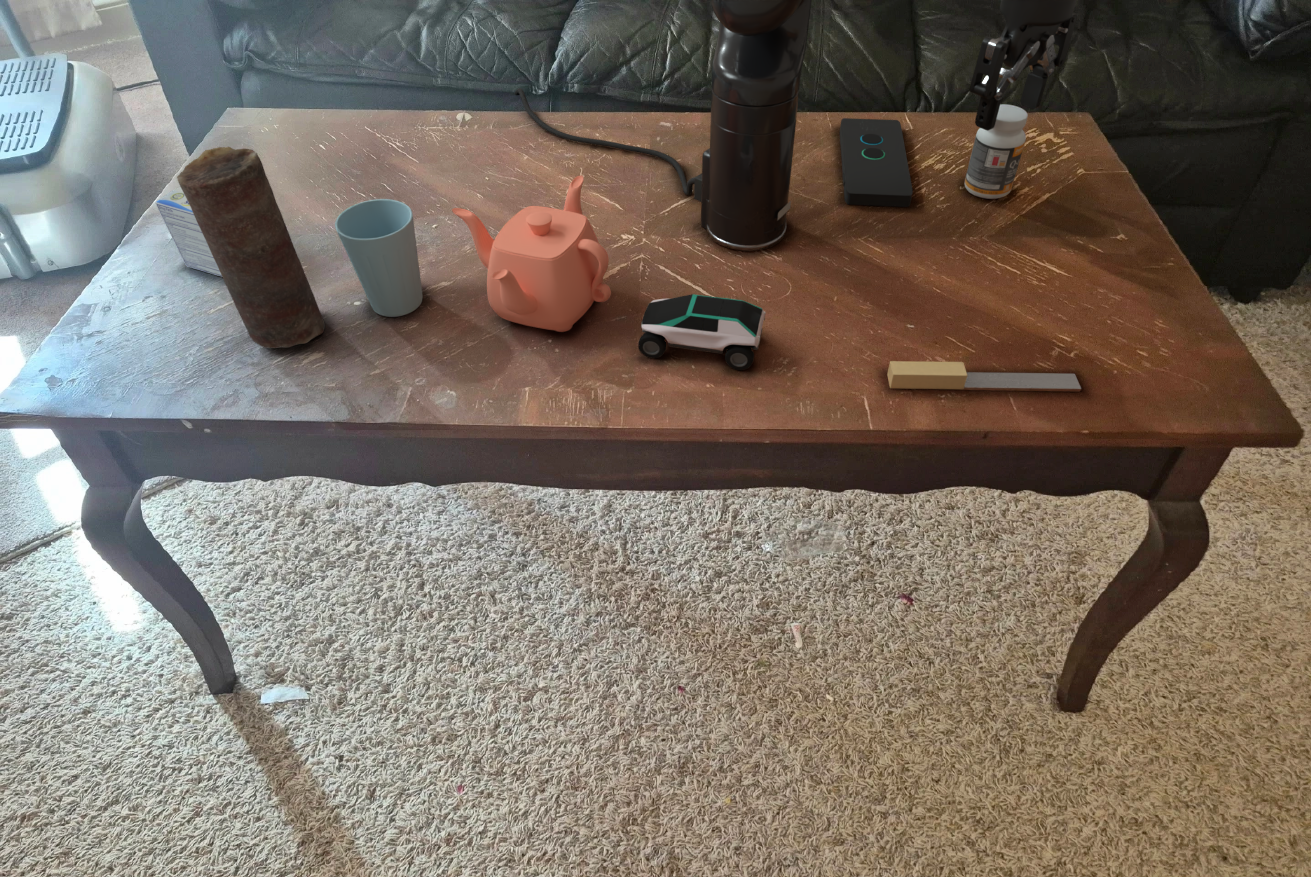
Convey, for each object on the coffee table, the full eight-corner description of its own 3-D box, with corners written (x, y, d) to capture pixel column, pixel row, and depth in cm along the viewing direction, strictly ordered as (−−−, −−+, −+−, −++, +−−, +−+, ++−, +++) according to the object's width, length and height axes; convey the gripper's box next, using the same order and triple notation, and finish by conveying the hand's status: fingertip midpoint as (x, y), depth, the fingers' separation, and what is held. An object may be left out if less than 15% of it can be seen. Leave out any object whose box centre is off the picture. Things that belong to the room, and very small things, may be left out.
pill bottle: (1012, 202, 108) (1035, 125, 101) (963, 198, 109) (983, 121, 102) (1008, 179, 112) (1030, 103, 105) (962, 175, 113) (981, 100, 105)
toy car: (755, 373, 87) (759, 330, 83) (637, 357, 89) (636, 315, 85) (764, 336, 91) (767, 294, 87) (651, 321, 93) (649, 279, 89)
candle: (284, 367, 89) (208, 188, 74) (236, 343, 91) (153, 166, 77) (340, 326, 93) (278, 150, 79) (292, 304, 96) (224, 131, 82)
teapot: (509, 364, 88) (492, 273, 80) (468, 289, 97) (449, 201, 90) (640, 324, 92) (636, 233, 85) (588, 255, 102) (580, 168, 94)
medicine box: (264, 263, 102) (237, 196, 95) (237, 284, 99) (207, 216, 93) (213, 247, 104) (184, 181, 98) (185, 268, 101) (152, 201, 95)
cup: (403, 331, 92) (378, 246, 85) (346, 312, 95) (318, 228, 87) (446, 292, 97) (427, 208, 90) (391, 275, 100) (368, 192, 92)
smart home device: (901, 118, 120) (915, 194, 106) (898, 130, 121) (912, 207, 107) (839, 116, 121) (845, 191, 107) (838, 128, 122) (843, 204, 108)
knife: (890, 389, 85) (893, 375, 83) (886, 374, 86) (890, 360, 85) (1080, 391, 84) (1086, 377, 83) (1073, 376, 85) (1079, 362, 84)
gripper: (1036, -7, 87) (995, 147, 98) (1118, -39, 93) (1070, 109, 104) (974, -26, 91) (941, 123, 103) (1057, -56, 97) (1017, 89, 109)
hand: (1006, 116), depth 103 cm, fingers open, 8 cm apart
